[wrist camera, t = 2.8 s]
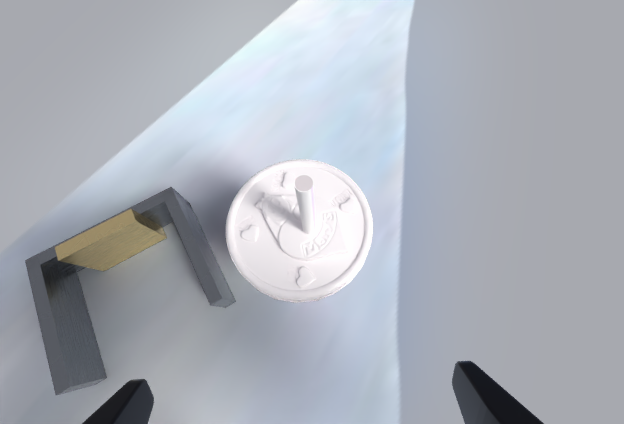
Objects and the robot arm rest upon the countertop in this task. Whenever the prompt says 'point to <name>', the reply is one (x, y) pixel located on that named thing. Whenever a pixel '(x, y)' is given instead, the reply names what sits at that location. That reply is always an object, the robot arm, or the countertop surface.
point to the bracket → (101, 256)
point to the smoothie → (299, 230)
